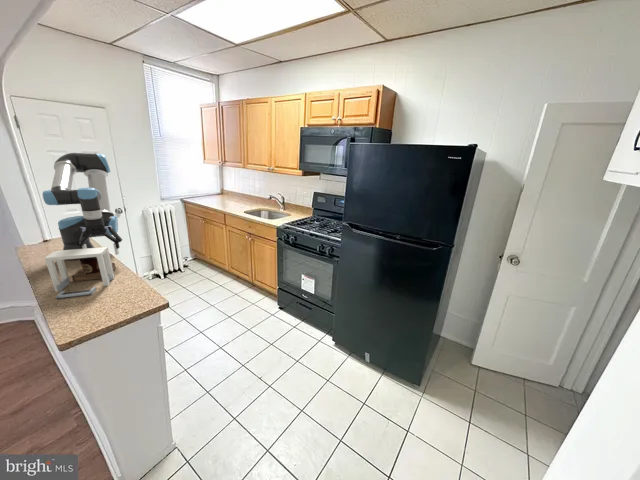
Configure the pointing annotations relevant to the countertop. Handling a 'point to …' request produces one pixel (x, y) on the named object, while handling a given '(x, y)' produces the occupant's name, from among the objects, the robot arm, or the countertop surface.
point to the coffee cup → (90, 265)
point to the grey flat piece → (75, 293)
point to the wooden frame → (80, 276)
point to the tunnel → (75, 254)
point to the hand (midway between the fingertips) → (102, 255)
